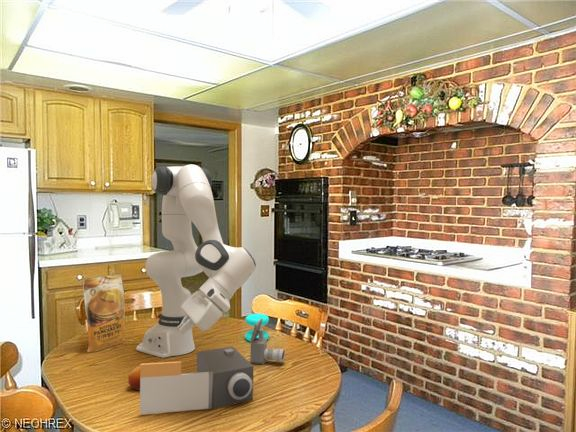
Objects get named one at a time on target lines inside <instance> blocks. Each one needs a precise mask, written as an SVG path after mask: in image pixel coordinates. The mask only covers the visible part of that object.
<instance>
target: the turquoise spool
mask: <svg viewBox="0 0 576 432" xmlns="http://www.w3.org/2000/svg"><path fill="white" fill-rule="evenodd" d="M261 318H262V319H263V320H262V324H261V327H262V326H263V327H264V326H266V325H267V324H269V322H270V317H269V316H268V315H266V314H263V313H252V314H248V315H247V316H246V317H245V323H246V324H247V325H249V326H251V327H255V324H256V323H257V322H258V321H259V320H260V319H261ZM253 330H254V328H253V329H250V330H248V331H246V333H245V335H244V337H245V339H246V341H248V342H250V340H251V337H252V333H253ZM256 338H259V334H258V336H257V337H256ZM264 338H265V339H266V340H267V341H268V339H269V333H268V331H266V330H264Z"/></svg>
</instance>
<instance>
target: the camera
mask: <svg viewBox="0 0 576 432" xmlns="http://www.w3.org/2000/svg"><path fill="white" fill-rule="evenodd" d="M262 320H263V319H262V318H261V319H260V320H259V321H258V322H257V323H256V324H255V326H253V329H254V330H253V333H252V337H251V340H250V341H249V342H250V362H249V363H250V364H257V365H265V363H266V362H267V360H269V361H275V362H281V363H282V362H284V360H285V353H286V352H285V349H283V348H277V349H274V348H268V347H267V346H268V344H267V343H268V342H267V341H268V339H267V340H266V339H265V338H264V328H262V326H261V324H262ZM258 334H259V338H256V337H257V336H258Z"/></svg>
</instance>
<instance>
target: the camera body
mask: <svg viewBox="0 0 576 432" xmlns="http://www.w3.org/2000/svg"><path fill="white" fill-rule="evenodd" d="M201 372H213V389H212V408H211V409H219V408H223V407H228V406H231V405H236V404H240V403H244V402H248V401H253V400H254V365H253V363H250V362H249V361H248V359H247V358H246V357H244V356H243V355H242V354H241V353H240V352H239V351H238V350H237V348H235V347H234V346H227V347H226V346H225V347H219V348H213V349H208V350H200V351H196V373H201Z"/></svg>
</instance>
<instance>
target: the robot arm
mask: <svg viewBox="0 0 576 432" xmlns="http://www.w3.org/2000/svg"><path fill="white" fill-rule="evenodd" d="M212 177H213V176H212V173H211V172H210V170H208V169H207V168H204V167H200V166H199V165H196V164H192V163H191V164H186V165H182V166H179V165H178V166H177V165H176V166H175V165H174V166H173V165H172V166H166V165H164V166H162V165H161V166H158V167H156V168H155V169H154V170H153V171H152V175H151V179H150V182H151V187H152V189H153V191H154V192H155V193H156V194H158V195H160V196H163V197H162V201H161V203H162V204H161V233H162V235H163V237H164V238H165V239H166V240H168V241H170V242H171V244H172V247H173V250H163V251H158V252H156V253H154V254H151V255H149V256H148V257H147V259H146V261H145V266H144V267H145V273H146V275H147V276H148V277H149V279H151V280H152V281H154V282H155V283H156V285H157V286H158V289H159V290H160V294H161V303H162V304H161V313H159V315H156V316H155V317H156V318H155V320H158V321H157V323H155V324H154V325H153V326H151V327H150V328H149V329H148V330H146V332H145V333H144V336H143V338H142V342H140V343H139V344H138V345H137V346H136V349H135V350H136V351H138V352H141V353H143V354H144V353H145V354H148V355H152V356H155V357H159V358H169V357H174V356H182V355H186V354H188V353H191V352H193V351H194V350H195V349H196V345H195V341H194V336H193V328H194V327H195V325H196V327H197V328H199V329H200V331H202V332H207V331H208V330H210V328H212V327H213V326H214V325H215V324H216V322H218V320H219V319H221V317H222V316H223V315H224V314H223V313H225V314H226V313H227V312H228V311H229V310H230V309H231V305H230V300H231V298H233V296H234V294H235V292H236V291H237V290H239V289H240V288H242V286H244V284H245V283H246V282H247V281H248V280H249V279H250V277H251V276H252V274H253V273H254V272H255V269H256V268H257V263H256V260H255V258H254V257H253V255H252V254H250V252H249V251H248V249H247V248H244V247H242V246H241V247H236V246H235V247H234V246H231V245H227V244H225V243H224V241H223V238H222V235H221V231H220V228H219V224H218V217H217V213H216V206H215V201H214V195H213V191H212V185H213V179H212ZM192 223H193V225H194V226H195V228H196V230H197V231H198V232H199V234H200V236H201V239H202V242H201V244H199V245H198V244H196V241H195V238H194V235H193V230H192V228H193V227H192ZM197 245H198V246H197ZM200 273H204V274H205V275H206V276H207V278H208V279H206V280H205V282H204V283H203V284H202V285H201V286H200V287H199V289H198V290H196V291H195V292H193V293H191V291H190V290H189V289H188V288H186V287H184V286H183V285H182V284H183V283H182V278H187V277H194V276H195V275H198V274H200Z"/></svg>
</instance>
